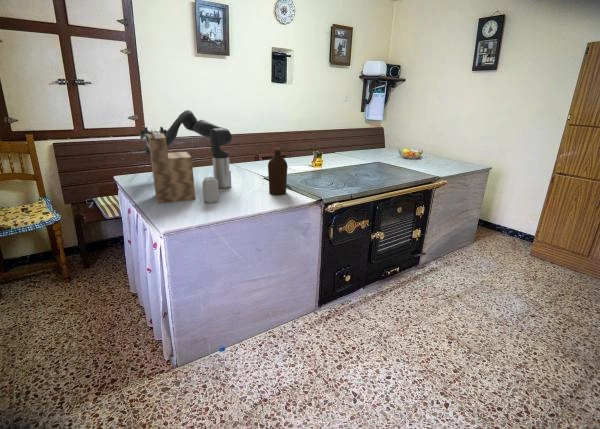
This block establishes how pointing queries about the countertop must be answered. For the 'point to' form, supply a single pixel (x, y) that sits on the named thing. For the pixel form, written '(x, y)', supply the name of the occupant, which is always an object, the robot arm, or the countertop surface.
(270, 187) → the olive oil
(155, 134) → the remote
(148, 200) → the countertop surface
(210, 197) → the can
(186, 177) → the stepped wooden block
